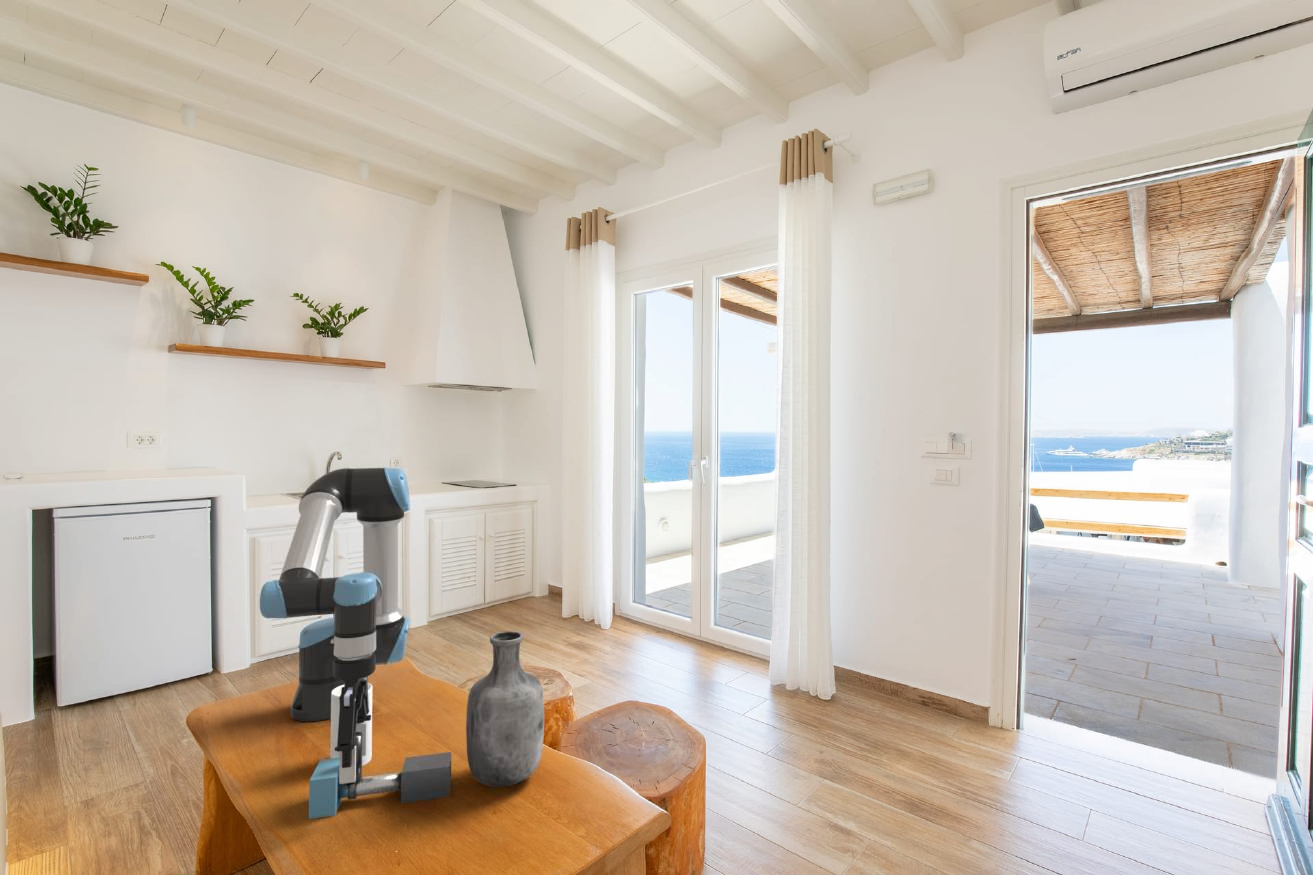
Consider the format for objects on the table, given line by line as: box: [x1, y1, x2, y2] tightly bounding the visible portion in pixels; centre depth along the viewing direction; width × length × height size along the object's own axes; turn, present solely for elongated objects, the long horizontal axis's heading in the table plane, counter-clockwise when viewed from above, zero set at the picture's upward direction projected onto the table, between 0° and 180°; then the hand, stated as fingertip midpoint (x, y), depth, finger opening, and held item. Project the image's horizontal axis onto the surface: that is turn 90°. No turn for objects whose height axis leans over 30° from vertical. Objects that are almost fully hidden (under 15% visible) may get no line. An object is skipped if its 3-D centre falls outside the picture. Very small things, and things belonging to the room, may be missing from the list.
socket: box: [308, 758, 343, 820], centre depth 118 cm, size 4×8×7 cm, turn 15°
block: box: [400, 751, 452, 804], centre depth 123 cm, size 9×6×6 cm, turn 105°
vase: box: [465, 631, 545, 788], centre depth 128 cm, size 16×16×30 cm
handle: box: [337, 732, 402, 800], centre depth 120 cm, size 17×4×12 cm, turn 105°
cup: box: [329, 682, 373, 767], centre depth 135 cm, size 8×8×16 cm
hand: (353, 768), depth 119 cm, fingers open, 9 cm apart
